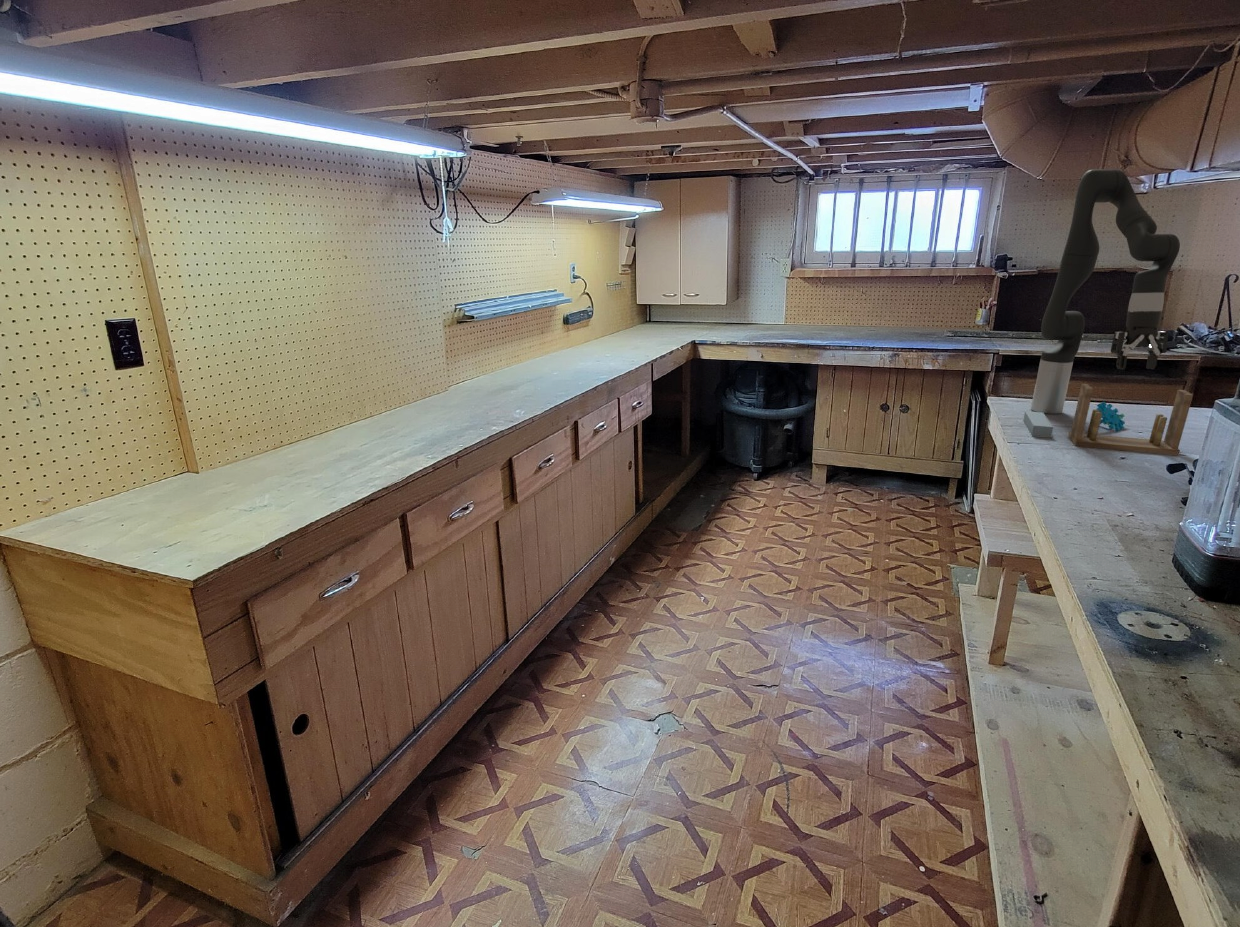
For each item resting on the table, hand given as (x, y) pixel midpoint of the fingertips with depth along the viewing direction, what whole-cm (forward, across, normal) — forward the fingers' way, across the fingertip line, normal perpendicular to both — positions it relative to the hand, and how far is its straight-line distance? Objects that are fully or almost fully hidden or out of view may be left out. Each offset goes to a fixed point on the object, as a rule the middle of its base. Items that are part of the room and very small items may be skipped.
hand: (1135, 369), depth 187 cm
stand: (+22, +3, +3) cm, 22 cm away
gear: (+20, -8, -15) cm, 26 cm away
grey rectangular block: (+20, +15, -16) cm, 30 cm away
